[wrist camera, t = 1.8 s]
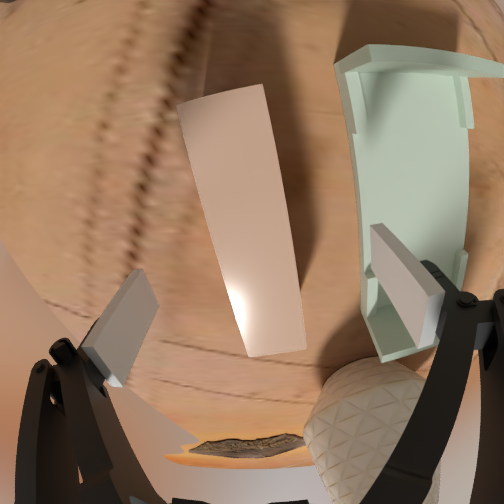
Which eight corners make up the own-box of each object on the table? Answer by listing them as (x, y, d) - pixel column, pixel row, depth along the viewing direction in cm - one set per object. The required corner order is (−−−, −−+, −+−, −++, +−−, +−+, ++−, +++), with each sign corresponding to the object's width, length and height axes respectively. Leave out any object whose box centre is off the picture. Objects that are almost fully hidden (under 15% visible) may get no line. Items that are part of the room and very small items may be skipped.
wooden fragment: (308, 428, 40) (308, 433, 39) (314, 448, 45) (315, 452, 44) (173, 437, 44) (172, 442, 43) (197, 456, 49) (196, 460, 48)
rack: (333, 64, 17) (367, 44, 10) (450, 67, 15) (505, 64, 9) (360, 311, 27) (381, 363, 21) (450, 286, 25) (482, 327, 19)
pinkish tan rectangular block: (202, 107, 19) (175, 104, 13) (261, 94, 18) (262, 83, 12) (251, 302, 27) (249, 357, 21) (297, 295, 26) (307, 349, 20)
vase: (429, 374, 33) (475, 499, 13) (335, 423, 39) (351, 544, 18) (397, 313, 27) (475, 507, 7) (272, 382, 33) (274, 558, 12)
